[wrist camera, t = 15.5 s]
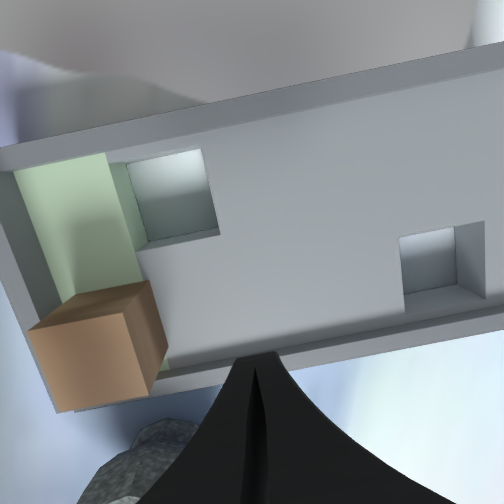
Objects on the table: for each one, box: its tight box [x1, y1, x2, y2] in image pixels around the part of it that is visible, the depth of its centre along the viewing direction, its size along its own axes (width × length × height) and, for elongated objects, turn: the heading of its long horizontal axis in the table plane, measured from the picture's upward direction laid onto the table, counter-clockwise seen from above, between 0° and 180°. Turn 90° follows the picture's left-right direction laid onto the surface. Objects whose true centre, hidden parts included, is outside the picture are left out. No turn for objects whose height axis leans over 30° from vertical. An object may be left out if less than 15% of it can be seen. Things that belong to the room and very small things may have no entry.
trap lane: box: [0, 41, 504, 413], centre depth 17 cm, size 25×14×4 cm, turn 101°
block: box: [27, 280, 169, 412], centre depth 16 cm, size 4×4×4 cm
